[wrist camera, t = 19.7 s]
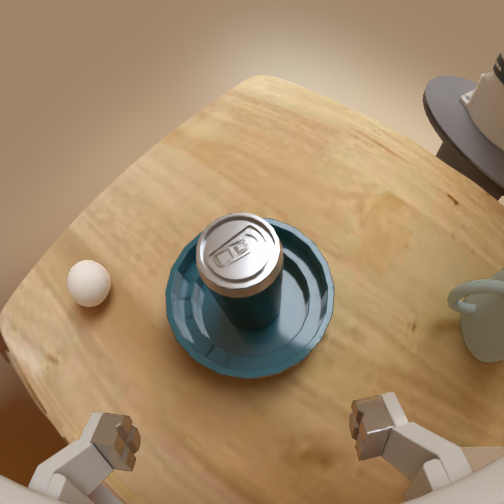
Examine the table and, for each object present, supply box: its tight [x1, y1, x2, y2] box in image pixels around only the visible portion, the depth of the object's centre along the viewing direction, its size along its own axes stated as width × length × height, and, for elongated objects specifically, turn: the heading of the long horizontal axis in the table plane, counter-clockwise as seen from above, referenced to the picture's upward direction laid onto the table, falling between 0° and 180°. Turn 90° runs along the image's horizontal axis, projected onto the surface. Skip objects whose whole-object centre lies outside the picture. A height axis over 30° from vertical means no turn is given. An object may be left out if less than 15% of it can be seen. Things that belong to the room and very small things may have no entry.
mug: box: [447, 268, 504, 363], centre depth 22 cm, size 14×9×10 cm
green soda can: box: [196, 212, 284, 330], centre depth 23 cm, size 5×5×12 cm
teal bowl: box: [165, 218, 334, 380], centre depth 27 cm, size 14×14×4 cm
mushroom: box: [67, 260, 111, 307], centre depth 29 cm, size 5×5×5 cm
